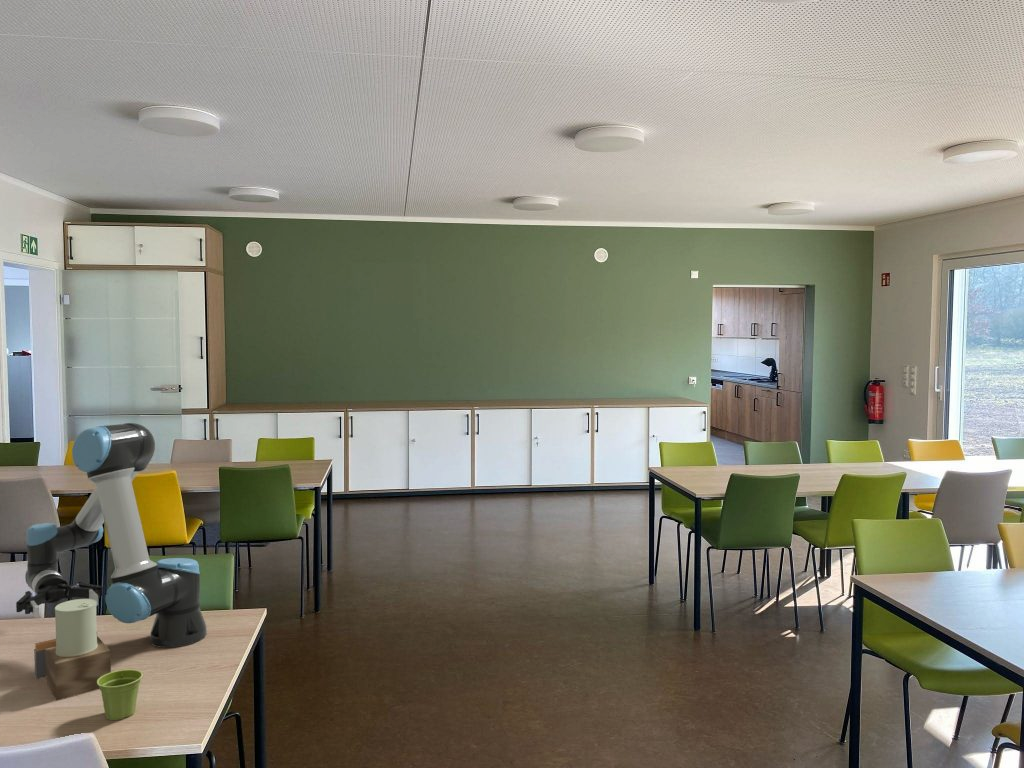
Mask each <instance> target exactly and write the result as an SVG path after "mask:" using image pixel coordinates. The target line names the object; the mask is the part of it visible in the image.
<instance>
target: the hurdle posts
mask: <svg viewBox="0 0 1024 768" xmlns="http://www.w3.org/2000/svg"><path fill="white" fill-rule="evenodd" d="M97 637H99V636H98V635H97ZM33 650H34V651H33V652H34V655H33V657H34V677H35V676H36V677H35V679H37V678H38V679H42V678H45V677H44V676H46V663H45V650H40V651H36V650H35V648H34V649H33ZM41 677H42V678H41Z"/></svg>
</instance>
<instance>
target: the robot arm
mask: <svg viewBox="0 0 1024 768" xmlns="http://www.w3.org/2000/svg"><path fill="white" fill-rule="evenodd" d="M75 438H76V439H75V440H74V442H73V444H72V448H71V449H72V450H71V457H72V460H73V461H72V462H73V464H74V465H75V467H76V468H77V469H78V470H79V471H81V472H84V473H86V476H87V480H88V481H90V482H93V483H94V484H95V485H96V487H95V488H94V490H93V491H92V492H91V493H90V495H89V497H88V498H87V500H86V502H85V503H84V505H83V506H82V508H81V509H80V511H79V512H78V513H77V515H76V517H75V518H74V520H73V521H72V522H71V523H70V524H65V525H62V526H57V524H56V523H51V522H44V523H37V524H33V525H30V526H29V527H28V528H27V530H26V541H25V543H26V553H27V564H26V565H27V568H26V571H25V576H24V578H25V582H26V584H27V586H28V587H29V588H30V589H31V591H30V590H27V591H25V594H24V595H22V597H21V598H20V599H19V600H18V601H16V603H15V607H16V608H15V610H16V613H21V612H23V611H24V614H25V615H29V614H32V615H33V617H34V618H35V619H38V618H40V607H39V606H40V605H42V604H54V603H57V602H59V601H61V600H64V599H67V600H69V599H70V600H71V599H73V598H79V599H93V600H95V601H96V602H97V603H96V607H97V606H99V600H100V597H102V596H103V595H104V588H103V587H104V586H101V585H97V584H90V583H85V582H83V581H78V582H77V583H76V585H73V584H68V581H67V579H65V578H64V576H63V575H61V574H60V572H59V568H58V567H59V564H58V563H59V554H61V553H65V552H68V551H71V550H75V549H78V548H83V547H87V546H90V545H92V544H95V543H97V542H99V541H100V540H101V539H102V537H103V534H104V527H103V524H104V525H105V530H106V534H107V539H108V543H109V547H110V550H111V555H112V559H113V564H114V568H115V569H114V571H113V572H112V574H111V576H110V579H111V585H110V586H109V587H108V588H107V590H106V594H105V596H104V597H105V604H106V607H107V610H108V612H109V613H110V614H111V616H112V617H113V618H115V619H116V620H118V621H119V622H121V623H123V624H134V623H137V622H140V621H144V620H146V619H147V618H149V617H152V616H154V615H155V617H154V620H153V623H152V628H151V630H150V633H149V634H150V635H149V640H150V644H152V645H153V646H155V647H158V646H159V648H176V647H183V646H187V645H191V644H195V643H196V642H199V641H201V640H203V639H204V638H205V637H206V636H207V632H208V630H207V629H208V628H207V624H206V621H205V619H204V616H203V613H202V610H201V605H200V603H201V594H200V592H201V591H200V589H201V588H200V585H201V584H200V583H201V582H200V581H201V580H200V575H201V572H200V568H199V567H200V565H199V562H198V561H197V560H196V559H193V558H187V557H185V558H184V557H174V558H173V557H172V558H171V557H170V558H162V559H159V560H157V561H156V562H154V561H153V560H151V559H150V556H149V552H148V547H147V542H146V539H145V534H144V530H143V525H142V520H141V516H140V512H139V509H138V504H137V499H136V495H135V492H134V486H133V480H134V479H135V478H136V476H137V475H138V473H141V472H143V471H145V469H147V467H148V465H149V464H150V462H151V461H152V459H153V457H154V454H155V449H156V441H155V438H154V436H153V433H152V432H151V431H150V430H149V429H148V428H147V427H145V426H144V425H142V424H139V423H136V422H135V423H134V422H127V423H120V424H118V423H117V424H111V425H110V424H109V425H99V426H93V427H90V428H87V429H84V430H82V431H81V432H79V434H78V435H77V436H76V437H75Z"/></svg>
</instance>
